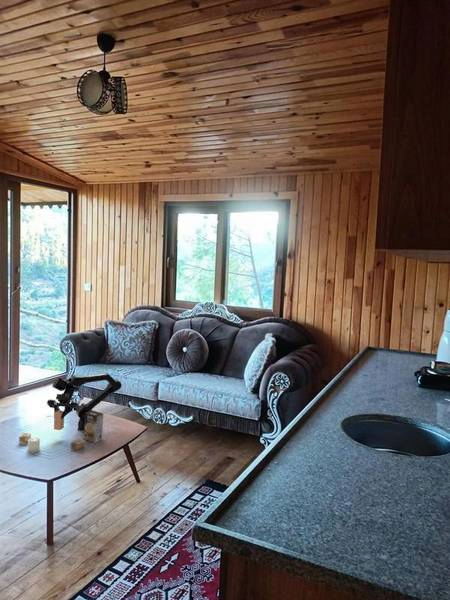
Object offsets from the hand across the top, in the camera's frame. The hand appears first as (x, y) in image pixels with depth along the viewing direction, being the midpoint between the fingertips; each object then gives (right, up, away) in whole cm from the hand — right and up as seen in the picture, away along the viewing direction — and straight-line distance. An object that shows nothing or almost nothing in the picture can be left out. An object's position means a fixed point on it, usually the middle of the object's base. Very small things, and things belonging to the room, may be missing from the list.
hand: (57, 418), depth 261 cm
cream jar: (-7, -13, -16) cm, 22 cm away
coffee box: (+19, -14, +4) cm, 24 cm away
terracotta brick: (0, -6, +2) cm, 7 cm away
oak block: (-17, -12, -6) cm, 21 cm away
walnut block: (+15, -15, -11) cm, 24 cm away
